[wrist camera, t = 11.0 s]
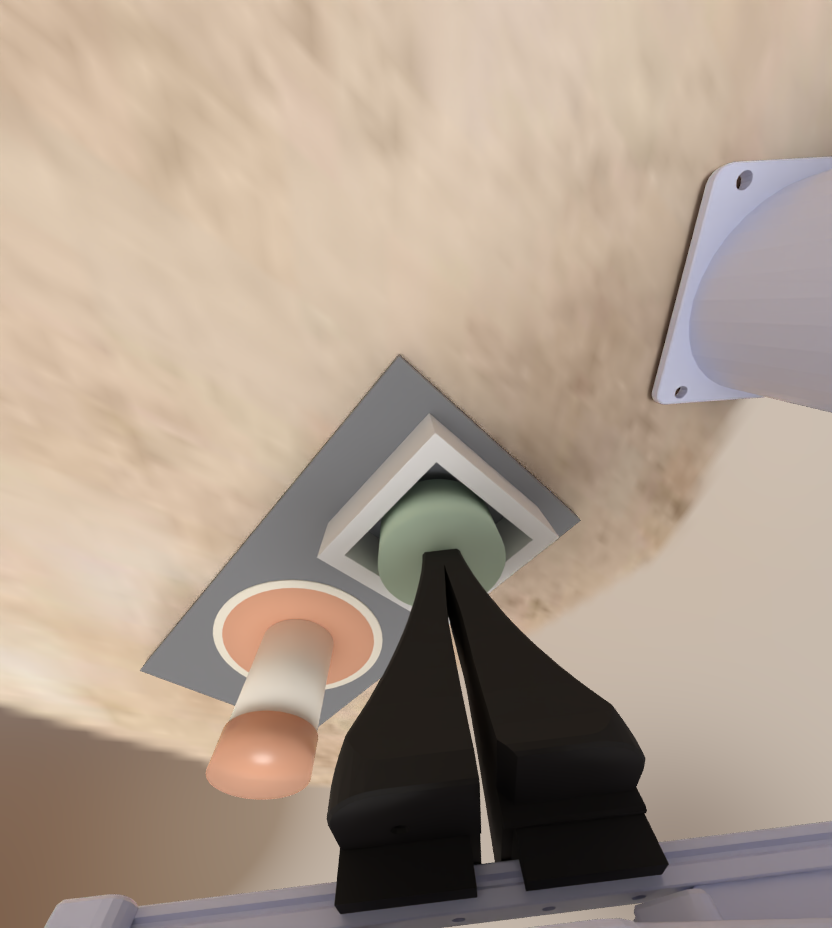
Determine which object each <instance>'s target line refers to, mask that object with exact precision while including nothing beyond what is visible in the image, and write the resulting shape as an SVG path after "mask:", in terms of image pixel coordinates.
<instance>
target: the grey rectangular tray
mask: <svg viewBox="0 0 832 928" xmlns="http://www.w3.org/2000/svg"><path fill="white" fill-rule="evenodd" d="M431 479H447V480H453V481H457V482H460V483H462V484H464V485H466V486H467V487H468V488H469V489H470V490H472V491H473V492H474V493H475V494H477V495H478V496H479V497H480V498H482V499H483V500H484V502H485V504H486V506H487V508H488V510H489V512H490V514H491V517H492V519H493V521H494V523H495V525H496V527H497V530H498V532H499V534H500V536H501V538H502V541H503V543H504V546H505V552H506V561H505V566H504V569H503V572H502V574H501V576H500V578H499V579H498V581H497V582H496V584H495V585H494V586H493V587H492V588H491V589H490V590H489V591H488V592H487V593H490V592H491V591H492V590H494V589H495V588H496V587H497V586H499V585H500V584H501V583H502V582H504V581H505V580H506V579H507V578H509V577H510V576H511V575H513V574H514V573H515V572H516V571H518V570H519V569H520V568H521V567H523V566H524V565H525V564H527V563H528V562H529V561H530V560H532V559H533V558H534V557H535V556H537V555H538V554H539V553H541V552H542V551H543V550H544V549H546V548H547V547H548V546H549V545H551V544H552V543H553V542H555V541H556V540H557V539H558V538H559V537H560V536H562V535H563V534H564V533H565V532H567V531H568V530H569V529H570V528H572V527H573V526H574V525H576V524H577V523H578V522H579V521H581V520H580V519H579V518H578V517H577V515H576V514H575V513H574V512H573V511H571V510H570V509H569V508H568V507H567V506H566V505H565V504H564V503H563V502H562V501H560V500H559V499H558V498H557V497H556V496H555V495H554V494H553V493H552V492H550V491H549V490H548V489H547V488H546V487H545V486H544V485H543V484H542V483H541V482H539V481H538V480H537V479H536V478H535V477H534V476H533V475H532V474H531V473H530V472H528V471H527V470H526V469H525V468H524V467H523V466H522V465H521V464H520V463H518V462H517V461H516V460H515V459H514V458H513V457H512V456H511V455H510V454H509V453H507V452H506V451H505V450H504V449H503V448H502V447H501V446H500V445H499V444H498V443H496V442H495V441H494V440H493V439H492V438H491V437H490V436H489V435H488V434H486V433H485V432H484V431H483V430H482V429H481V428H480V427H479V426H478V425H477V424H475V423H474V422H473V421H472V420H471V419H470V418H469V417H468V416H467V415H466V414H464V413H463V412H462V411H461V410H460V409H459V408H458V407H457V406H456V405H454V404H453V403H452V402H451V401H450V400H449V399H448V398H447V397H446V396H445V395H443V394H442V393H441V392H440V391H439V390H438V389H437V388H436V387H435V386H434V385H432V384H431V383H430V382H429V381H428V380H427V379H426V378H425V377H424V376H422V375H421V374H420V373H419V372H418V371H417V370H416V369H415V368H414V367H413V366H411V365H410V364H409V363H408V362H407V361H406V360H405V359H404V358H403V357H402V356H400V355H398V356H397V357H396V359H395V360H394V361H393V362H392V363H391V365H390V366H389V367H388V368H387V370H386V371H385V372H384V373H383V374H382V376H381V377H380V378H379V379H378V380H377V382H376V383H375V384H374V385H373V387H372V388H371V389H370V390H369V391H368V393H367V394H366V395H365V396H364V397H363V399H362V400H361V401H360V402H359V404H358V405H357V406H356V407H355V408H354V410H353V411H352V412H351V413H350V415H349V416H348V417H347V418H346V419H345V421H344V422H343V423H342V424H341V425H340V427H339V428H338V429H337V430H336V432H335V433H334V434H333V435H332V436H331V438H330V439H329V440H328V441H327V442H326V444H325V445H324V446H323V447H322V449H321V450H320V451H319V452H318V453H317V455H316V456H315V457H314V458H313V459H312V461H311V462H310V463H309V464H308V466H307V467H306V468H305V469H304V470H303V472H302V473H301V474H300V475H299V476H298V478H297V479H296V480H295V481H294V483H293V484H292V485H291V486H290V487H289V489H288V490H287V491H286V492H285V493H284V495H283V496H282V497H281V498H280V500H279V501H278V502H277V503H276V504H275V506H274V507H273V508H272V509H271V511H270V512H269V513H268V514H267V515H266V517H265V518H264V519H263V520H262V521H261V523H260V524H259V525H258V526H257V528H256V529H255V530H254V531H253V532H252V534H251V535H250V536H249V537H248V538H247V540H246V541H245V542H244V543H243V545H242V546H241V547H240V548H239V549H238V551H237V552H236V553H235V554H234V555H233V557H232V558H231V559H230V560H229V562H228V563H227V564H226V565H225V566H224V568H223V569H222V570H221V571H220V572H219V574H218V575H217V576H216V577H215V579H214V580H213V581H212V582H211V583H210V585H209V586H208V587H207V588H206V590H205V591H204V592H203V593H202V594H201V596H200V597H199V598H198V599H197V600H196V602H195V603H194V604H193V605H192V607H191V608H190V609H189V610H188V611H187V613H186V614H185V615H184V616H183V617H182V619H181V620H180V621H179V622H178V624H177V625H176V626H175V627H174V628H173V630H172V631H171V632H170V633H169V634H168V636H167V637H166V638H165V639H164V641H163V642H162V643H161V644H160V645H159V647H158V648H157V649H156V650H155V651H154V653H153V654H152V655H151V656H150V658H149V659H148V660H147V661H146V663H145V664H144V665H143V667H142V668H141V670H140V671H142V672H145V673H147V674H150V675H153V676H155V677H158V678H161V679H164V680H166V681H169V682H172V683H175V684H177V685H180V686H183V687H185V688H188V689H191V690H194V691H196V692H199V693H202V694H204V695H207V696H210V697H213V698H215V699H218V700H221V701H224V702H226V703H229V704H232V705H234V706H235V705H236V703H237V700H238V698H239V695H240V693H241V690H242V688H243V686H244V683H245V681H246V678H247V676H248V673H249V671H250V668H251V666H252V663H253V661H254V659H255V656H256V654H257V651H258V649H259V646H260V644H261V641H262V639H263V636H264V634H265V632H266V631H267V629H268V628H269V627H271V626H272V625H274V624H276V623H278V622H280V621H284V620H290V619H301V620H307V621H311V622H314V623H317V624H319V625H321V626H322V627H324V628H325V629H326V630H327V631H328V632H329V633H330V634H331V636H332V638H333V642H334V645H333V651H332V656H331V661H330V667H329V672H328V677H327V682H326V688H325V693H324V698H323V704H322V709H321V714H320V719H319V725H318V727H319V726H320V725H321V724H323V723H324V722H325V721H326V720H328V719H329V718H330V717H332V716H333V715H334V714H335V713H337V712H338V711H339V710H340V709H342V708H343V707H344V706H346V705H347V704H348V703H349V702H351V701H352V700H353V699H354V698H356V697H357V696H358V695H360V694H361V693H362V692H363V691H365V690H366V689H367V688H368V687H370V686H371V685H372V684H374V683H375V682H376V681H377V680H379V679H380V678H381V677H382V676H383V674H384V672H385V670H386V668H387V666H388V664H389V662H390V660H391V658H392V656H393V654H394V652H395V650H396V647H397V645H398V643H399V641H400V638H401V636H402V634H403V631H404V629H405V626H406V623H407V621H408V618H409V615H410V612H411V609H412V606H411V605H408V604H406V603H404V602H402V601H400V600H399V599H397V598H396V597H394V596H393V595H392V594H391V593H390V592H389V591H388V590H387V589H386V588H385V586H384V584H383V583H382V581H381V578H380V576H379V571H378V554H379V541H380V527H381V519H382V517H383V516H384V515H385V514H386V513H387V512H388V511H389V509H390V508H391V507H392V506H393V505H394V504H395V503H396V502H397V501H398V500H399V499H400V498H401V497H402V496H403V495H404V494H405V493H406V492H407V491H408V490H409V489H410V488H411V487H412V486H413V485H414V484H415V483H417V482H421V481H425V480H431ZM448 618H449V617H448ZM449 624H450V621H449Z"/></svg>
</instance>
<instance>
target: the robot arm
mask: <svg viewBox="0 0 832 928" xmlns="http://www.w3.org/2000/svg"><path fill="white" fill-rule="evenodd" d="M739 175H740V177H741V185H740V187H739V189H737V187H736V181H737V179H738V177H739ZM679 387H680V391H679V392H678V393H677V394H676V395H675V392H676V390H677V389H678V388H679ZM760 397H768V398H773V399H777V400H781V401H786V402H790V403H794V404H798V405H802V406H806V407H811V408H815V409H819V410H823V411H828V412H831V413H832V156H830V157H812V158H794V159H776V160H758V161H740V162H732V163H728V164H726V165H724V166H721V167H719V168H718V169H717V170H715V171H714V172H713V173H712V174H711V176H710V177H709V179H708V181H707V184H706V186H705V190H704V194H703V198H702V202H701V205H700V209H699V213H698V217H697V221H696V225H695V229H694V232H693V236H692V240H691V244H690V248H689V252H688V256H687V259H686V263H685V267H684V271H683V275H682V279H681V283H680V286H679V290H678V294H677V298H676V302H675V306H674V310H673V313H672V317H671V321H670V325H669V329H668V333H667V337H666V340H665V344H664V348H663V352H662V356H661V360H660V363H659V367H658V371H657V375H656V379H655V383H654V387H653V390H652V398H653V400H654V401H656V402H658V403H660V404H678V403H691V402H705V401H719V400H732V399H746V398H760ZM448 617H449V618H448ZM449 621H450V625H451V629H452V633H453V637H454V640H455V644H456V648H457V652H458V656H459V660H460V664H461V668H462V672H463V675H464V680H465V684H466V689H467V694H468V700H469V706H470V712H471V718H472V724H473V730H474V735H475V741H476V747H477V753H478V759H479V765H480V772H481V778H482V784H483V790H484V796H485V802H486V808H487V815H488V821H489V827H490V833H491V839H492V846H493V852H494V859H495V862H494V863H486V864H481V845H480V844H481V843H480V833H481V812H480V783H479V776H478V770H477V765H476V759H475V754H474V748H473V743H472V739H471V734H470V729H469V724H468V720H467V715H466V711H465V705H464V701H463V696H462V691H461V686H460V681H459V675H458V670H457V665H456V660H455V655H454V650H453V644H452V639H451V633H450V628H449ZM644 764H645V757H644V754H643V752H642V750H641V748H640V746H639V745H638V742H637V741H636V739H635V737H634V736H633V734H632V733H631V731H630V730H629V728H628V727H627V725H626V724H625V722H624V721H623V719H622V718H621V717H620V715H619V714H618V712H617V711H616V710H615V709H614V707H613V706H612V705H611V704H610V703H609V702H607V701H606V700H604V699H603V698H601V697H600V696H599V695H597V694H596V693H594V692H593V691H592V690H590V689H589V688H588V687H586V686H585V685H584V684H582V683H581V682H580V681H578V680H577V679H576V678H574V677H573V676H572V675H571V674H569V673H568V672H567V671H565V670H564V669H563V668H561V667H560V666H559V665H558V664H557V663H556V662H555V661H553V660H552V659H551V658H550V657H549V656H548V655H547V654H545V653H544V652H543V651H542V650H541V649H539V648H538V647H537V646H536V645H535V644H534V643H533V642H532V641H531V640H530V639H529V638H528V637H527V636H526V635H525V634H524V633H523V632H521V631H520V630H519V628H518V627H517V626H516V625H515V624H514V623H513V622H512V621H511V620H510V619H509V618H508V617H507V616H506V615H505V614H504V612H503V611H502V610H501V609H500V608H499V607H498V605H497V604H496V603H495V602H494V601H493V600H492V598H491V597H490V596H489V594H488V593H487V592H486V591H485V589H484V588H483V587H482V585H481V584H480V583H479V581H478V580H477V578H476V577H475V575H474V574H473V572H472V571H471V569H470V568H469V566H468V565H467V563H466V561H465V560H464V558H463V556H462V554H461V552H460V550H458V549H448V550H439V551H431V552H425V553H424V554H423V555H422V569H421V575H420V580H419V584H418V588H417V592H416V596H415V600H414V603H413V606H412V609H411V612H410V615H409V618H408V621H407V623H406V626H405V629H404V631H403V634H402V636H401V638H400V641H399V643H398V645H397V647H396V650H395V652H394V654H393V656H392V658H391V660H390V662H389V664H388V666H387V668H386V670H385V672H384V674H383V676H382V677H381V679H380V681H379V683H378V684H377V686H376V688H375V690H374V692H373V693H372V695H371V697H370V699H369V700H368V702H367V703H366V705H365V707H364V708H363V710H362V711H361V713H360V714H359V716H358V717H357V719H356V720H355V722H354V723H353V725H352V727H351V728H350V730H349V731H348V733H347V734H346V736H345V739H344V742H343V745H342V748H341V751H340V754H339V757H338V761H337V764H336V768H335V772H334V776H333V780H332V785H331V791H330V799H329V806H328V813H327V822H328V826H329V828H330V830H331V831H332V833H333V835H334V837H335V839H336V841H337V843H338V845H339V847H340V855H339V865H338V874H337V882H332V883H323V884H315V885H308V886H299V887H291V888H283V889H276V890H266V891H258V892H251V893H243V894H235V895H226V896H218V897H210V898H202V899H193V900H185V901H178V902H170V903H161V904H153V905H145V906H137V903H136V902H135V901H134V900H133V899H131V898H130V897H127V896H124V895H116V894H115V895H114V894H110V895H100V896H92V897H84V898H76V899H68V900H63V901H62V902H60V903H59V904H58V905H57V906H56V908H55V909H54V911H53V913H52V914H51V916H50V918H49V920H48V922H47V924H46V925H45V927H44V928H444V927H452V926H460V925H468V924H475V923H484V922H491V921H500V920H508V919H516V918H524V917H531V916H540V915H548V914H556V913H564V912H572V911H581V910H589V909H596V908H605V907H613V906H620V905H629V904H637V903H642V904H639V905H636V906H635V909H634V914H635V919H634V921H631V920H626V919H620V918H614V919H613V918H612V919H594V920H587V921H577V922H570V923H562V924H554V925H545V926H537V927H529V928H832V821H827V822H819V823H811V824H803V825H795V826H787V827H780V828H770V829H762V830H754V831H746V832H738V833H730V834H722V835H714V836H705V837H698V838H689V839H681V840H673V841H665V842H658V841H657V839H656V836H655V834H654V833H653V830H652V828H651V826H650V824H649V822H648V820H647V818H646V816H645V814H644V813H646V811H647V809H646V806H645V804H644V802H643V800H642V798H641V796H640V794H639V792H638V790H637V788H636V786H637V784H638V781H639V779H640V777H641V774H642V772H643V769H644Z"/></svg>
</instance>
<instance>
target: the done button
mask: <svg viewBox="0 0 832 928" xmlns="http://www.w3.org/2000/svg"><path fill="white" fill-rule="evenodd" d="M448 549H458V550H460V552H461V554H462V556H463V558H464V560H465V561H466V563H467V565H468V566H469V568H470V569H471V571H472V572H473V574H474V575H475V577H476V578H477V580H478V581H479V583H480V584H481V585H482V587H483V588H484V589H485V591H486V592H488V591H489V590H490V589H491V588H492V587H493V586H494V585H495V584H496V582H497V581H498V579H499V578H500V576H501V574H502V572H503V569H504V566H505V561H506V552H505V546H504V543H503V541H502V538H501V536H500V534H499V532H498V530H497V527H496V525H495V523H494V521H493V519H492V517H491V514H490V512H489V510H488V508H487V506H486V504H485V502H484V500H483V499H482V498H480V497H479V496H478V495H477V494H475V493H474V492H473V491H472V490H470V489H469V488H468V487H467V486H466V485H464V484H462V483H460V482H457V481H453V480H447V479H431V480H425V481H421V482H417V483H415V484H414V485H413V486H412V487H411V488H410V489H409V490H408V491H407V492H406V493H405V494H404V495H403V496H402V497H401V498H400V499H399V500H398V501H397V502H396V503H395V504H394V505H393V506H392V507H391V508H390V509H389V511H388V512H387V513H386V514H385V515H384V516H383V517H382V519H381V527H380V541H379V554H378V571H379V576H380V578H381V581H382V583H383V584H384V586H385V588H386V589H387V590H388V591H389V592H390V593H391V594H392V595H393V596H394V597H396V598H397V599H399V600H400V601H402V602H404V603H406V604H408V605H411V606H413V603H414V600H415V596H416V592H417V588H418V584H419V580H420V575H421V569H422V555H423V554H424V553H425V552H431V551H439V550H448Z"/></svg>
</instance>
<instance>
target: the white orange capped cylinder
mask: <svg viewBox="0 0 832 928" xmlns="http://www.w3.org/2000/svg"><path fill="white" fill-rule="evenodd" d="M333 645H334V642H333V638H332V636H331V634H330V633H329V632H328V631H327V630H326V629H325V628H324V627H322V626H321V625H319V624H317V623H314V622H311V621H307V620H301V619H290V620H284V621H280V622H278V623H276V624H274V625H272V626H271V627H269V628H268V629H267V631H266V632H265V634H264V636H263V639H262V641H261V644H260V646H259V649H258V651H257V654H256V656H255V659H254V661H253V663H252V666H251V668H250V671H249V673H248V676H247V678H246V681H245V683H244V686H243V688H242V690H241V693H240V695H239V698H238V700H237V703H236V705H235V708H234V710H233V713H232V715H231V717H230V720H229V722H228V723H227V724H226V725H225V727H224V728H223V731H222V733H221V736H220V738H219V741H218V743H217V745H216V748H215V750H214V753H213V755H212V757H211V760H210V762H209V765H208V767H207V770H206V777H207V780H208V781H209V782H210V783H211V785H212V786H214V787H215V788H217V789H218V790H220V791H222V792H224V793H227V794H229V795H233V796H236V797H241V798H247V799H275V798H282V797H286V796H290V795H293V794H295V793H297V792H299V791H301V790H303V789H304V788H305V787H306V786H307V785H308V784H309V782H310V779H311V774H312V769H313V763H314V758H315V752H316V747H317V742H318V733H317V730H318V725H319V719H320V714H321V709H322V704H323V698H324V693H325V688H326V682H327V677H328V672H329V667H330V661H331V656H332V651H333Z"/></svg>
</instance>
